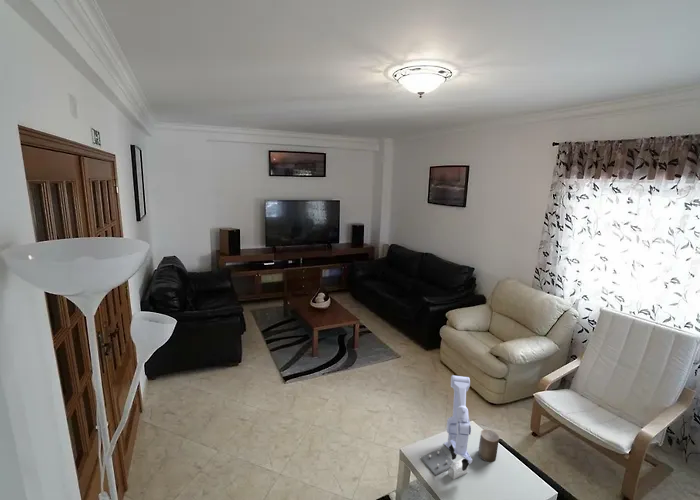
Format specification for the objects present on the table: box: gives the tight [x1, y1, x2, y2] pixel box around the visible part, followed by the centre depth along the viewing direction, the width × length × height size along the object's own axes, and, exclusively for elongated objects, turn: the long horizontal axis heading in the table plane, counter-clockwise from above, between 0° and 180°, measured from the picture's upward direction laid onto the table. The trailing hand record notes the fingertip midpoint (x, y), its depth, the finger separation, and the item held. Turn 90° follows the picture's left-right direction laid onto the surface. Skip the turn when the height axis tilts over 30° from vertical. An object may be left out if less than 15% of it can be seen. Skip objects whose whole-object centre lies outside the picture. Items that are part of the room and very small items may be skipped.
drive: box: [447, 458, 469, 480], centre depth 187 cm, size 10×4×6 cm, turn 117°
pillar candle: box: [477, 428, 500, 463], centre depth 198 cm, size 10×10×15 cm
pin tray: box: [420, 448, 454, 476], centre depth 193 cm, size 14×12×3 cm
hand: (458, 464), depth 186 cm, fingers open, 7 cm apart
